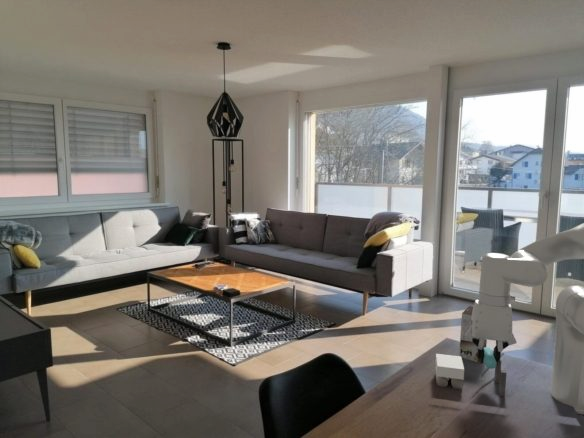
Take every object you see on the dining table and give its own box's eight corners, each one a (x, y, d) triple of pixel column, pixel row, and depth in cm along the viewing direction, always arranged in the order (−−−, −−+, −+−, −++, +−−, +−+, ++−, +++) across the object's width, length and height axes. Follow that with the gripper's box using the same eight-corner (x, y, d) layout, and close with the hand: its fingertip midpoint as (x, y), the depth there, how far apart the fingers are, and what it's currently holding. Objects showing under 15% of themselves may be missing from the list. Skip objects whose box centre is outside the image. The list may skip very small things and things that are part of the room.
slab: (460, 366, 126) (461, 356, 126) (463, 379, 118) (464, 369, 118) (435, 363, 128) (435, 353, 127) (436, 376, 120) (437, 366, 120)
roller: (480, 356, 124) (481, 346, 123) (491, 357, 123) (492, 348, 122) (484, 367, 117) (485, 357, 116) (496, 369, 116) (497, 359, 116)
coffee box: (479, 366, 135) (482, 317, 133) (458, 360, 139) (461, 312, 136) (486, 355, 142) (489, 309, 140) (466, 350, 146) (469, 304, 144)
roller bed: (498, 384, 124) (500, 358, 123) (504, 401, 116) (506, 373, 115) (432, 375, 129) (434, 350, 128) (434, 391, 120) (435, 364, 119)
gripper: (523, 297, 119) (517, 360, 121) (460, 291, 123) (455, 352, 126) (530, 306, 111) (523, 373, 114) (463, 300, 116) (458, 364, 118)
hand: (488, 361), depth 120 cm, fingers closed on roller, 3 cm apart
